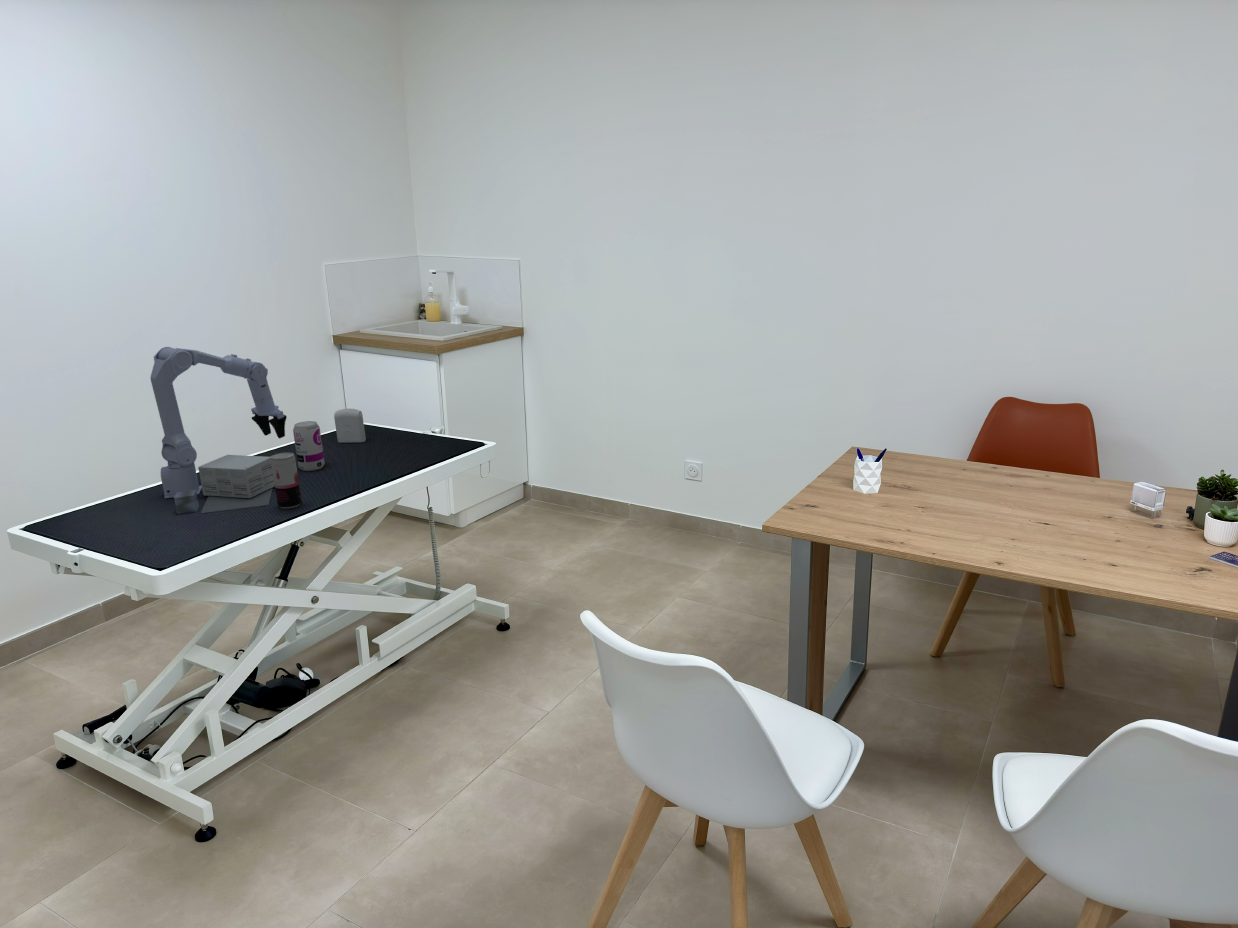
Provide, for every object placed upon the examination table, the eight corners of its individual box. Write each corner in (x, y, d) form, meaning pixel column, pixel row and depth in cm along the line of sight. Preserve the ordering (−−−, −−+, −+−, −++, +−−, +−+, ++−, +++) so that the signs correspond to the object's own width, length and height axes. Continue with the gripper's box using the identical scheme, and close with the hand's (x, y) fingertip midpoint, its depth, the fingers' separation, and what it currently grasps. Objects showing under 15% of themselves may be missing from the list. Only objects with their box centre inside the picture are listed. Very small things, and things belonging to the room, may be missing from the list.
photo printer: (335, 443, 306) (331, 410, 302) (340, 440, 310) (336, 407, 306) (363, 443, 305) (359, 410, 301) (367, 440, 309) (363, 407, 305)
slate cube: (177, 514, 240) (174, 497, 238) (180, 508, 244) (177, 492, 243) (196, 511, 241) (193, 495, 240) (199, 506, 246) (196, 490, 244)
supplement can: (329, 464, 282) (323, 420, 277) (318, 471, 274) (311, 427, 270) (305, 463, 283) (299, 420, 278) (294, 471, 275) (287, 427, 270)
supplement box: (278, 485, 261) (274, 456, 258) (250, 499, 249) (245, 469, 246) (232, 481, 266) (227, 453, 263) (202, 495, 254) (197, 466, 251)
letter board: (200, 513, 239) (200, 512, 239) (211, 489, 259) (211, 488, 259) (268, 505, 244) (268, 504, 244) (273, 482, 264) (273, 481, 264)
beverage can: (306, 503, 245) (299, 454, 241) (288, 510, 240) (280, 460, 235) (291, 499, 249) (284, 451, 244) (273, 506, 243) (265, 457, 239)
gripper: (286, 395, 272) (298, 433, 277) (259, 391, 279) (271, 428, 285) (268, 403, 266) (280, 442, 272) (241, 398, 274) (253, 436, 280)
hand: (274, 435), depth 278 cm, fingers open, 7 cm apart
